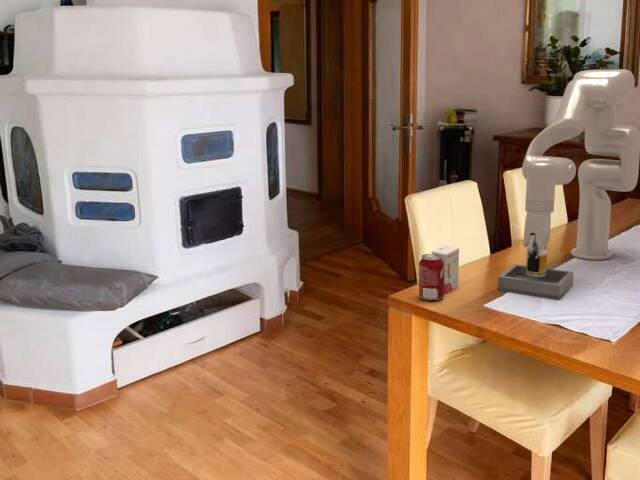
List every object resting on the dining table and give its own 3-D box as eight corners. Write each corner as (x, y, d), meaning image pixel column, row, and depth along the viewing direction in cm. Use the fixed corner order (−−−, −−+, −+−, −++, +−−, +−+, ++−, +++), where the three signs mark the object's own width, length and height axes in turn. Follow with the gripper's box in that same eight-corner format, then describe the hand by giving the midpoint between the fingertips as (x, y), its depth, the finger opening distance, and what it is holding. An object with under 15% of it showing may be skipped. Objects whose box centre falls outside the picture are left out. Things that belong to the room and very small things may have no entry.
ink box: (445, 294, 185) (446, 254, 182) (429, 291, 188) (430, 251, 185) (459, 286, 191) (460, 246, 188) (443, 283, 194) (444, 244, 191)
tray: (513, 276, 198) (514, 263, 197) (572, 285, 188) (573, 272, 187) (497, 290, 187) (498, 276, 186) (559, 300, 177) (560, 285, 176)
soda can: (438, 303, 178) (438, 261, 175) (415, 299, 181) (415, 258, 178) (447, 296, 183) (448, 254, 180) (424, 292, 187) (425, 251, 184)
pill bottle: (545, 272, 188) (547, 239, 186) (545, 278, 183) (547, 244, 181) (526, 271, 190) (527, 238, 188) (525, 276, 185) (527, 243, 183)
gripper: (535, 199, 191) (532, 259, 195) (515, 210, 177) (513, 274, 181) (562, 201, 186) (558, 262, 191) (544, 213, 173) (540, 278, 177)
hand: (536, 267), depth 186 cm, fingers closed on pill bottle, 5 cm apart
